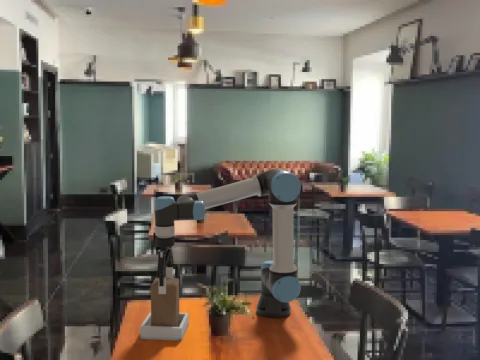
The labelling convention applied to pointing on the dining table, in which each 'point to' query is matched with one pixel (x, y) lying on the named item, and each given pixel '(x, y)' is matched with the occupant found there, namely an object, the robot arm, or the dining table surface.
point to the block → (165, 304)
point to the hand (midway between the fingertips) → (166, 288)
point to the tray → (164, 329)
